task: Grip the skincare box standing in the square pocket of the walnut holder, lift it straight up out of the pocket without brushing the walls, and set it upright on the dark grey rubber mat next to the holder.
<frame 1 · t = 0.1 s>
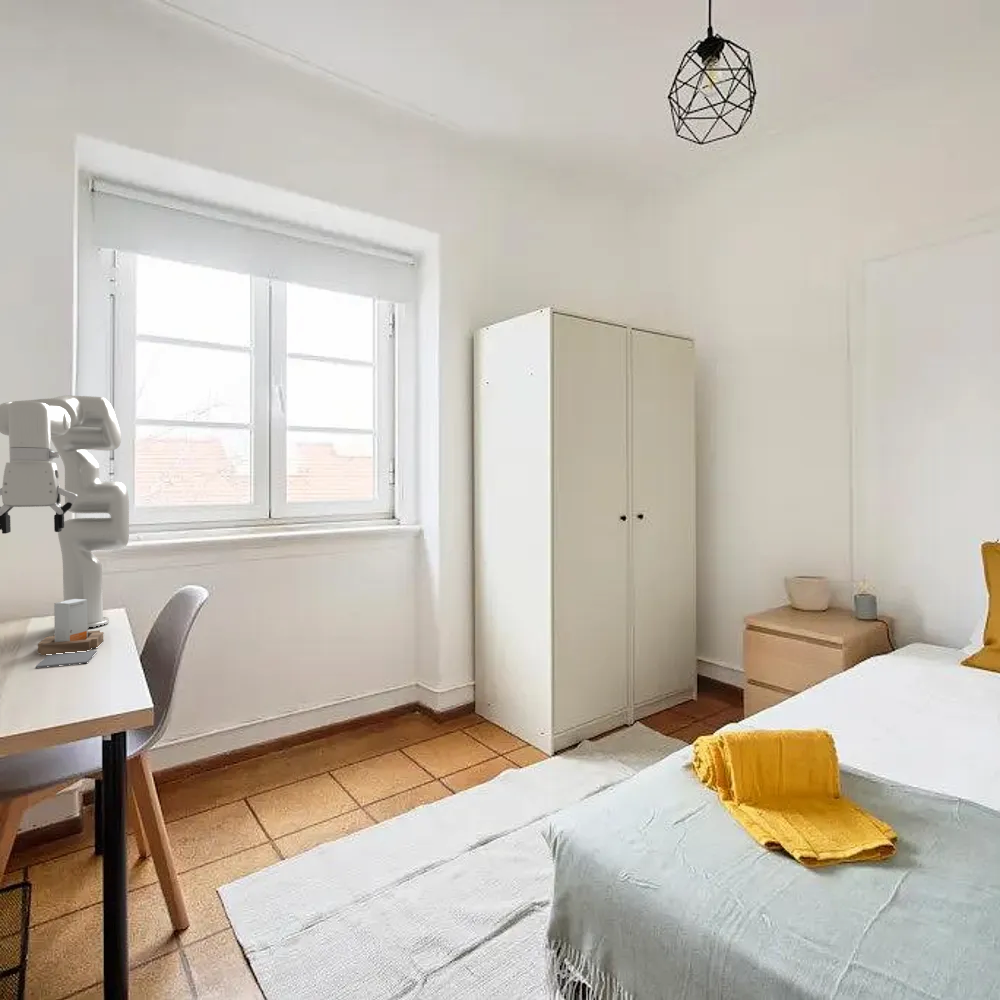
hand: (32, 532, 140), 31 cm above the table, tool pointing down, fingers open, 9 cm apart
skincare box: (72, 648, 159), resting in walnut holder
walnut holder: (71, 647, 159), on the table
grey rubber mat: (67, 660, 147), on the table
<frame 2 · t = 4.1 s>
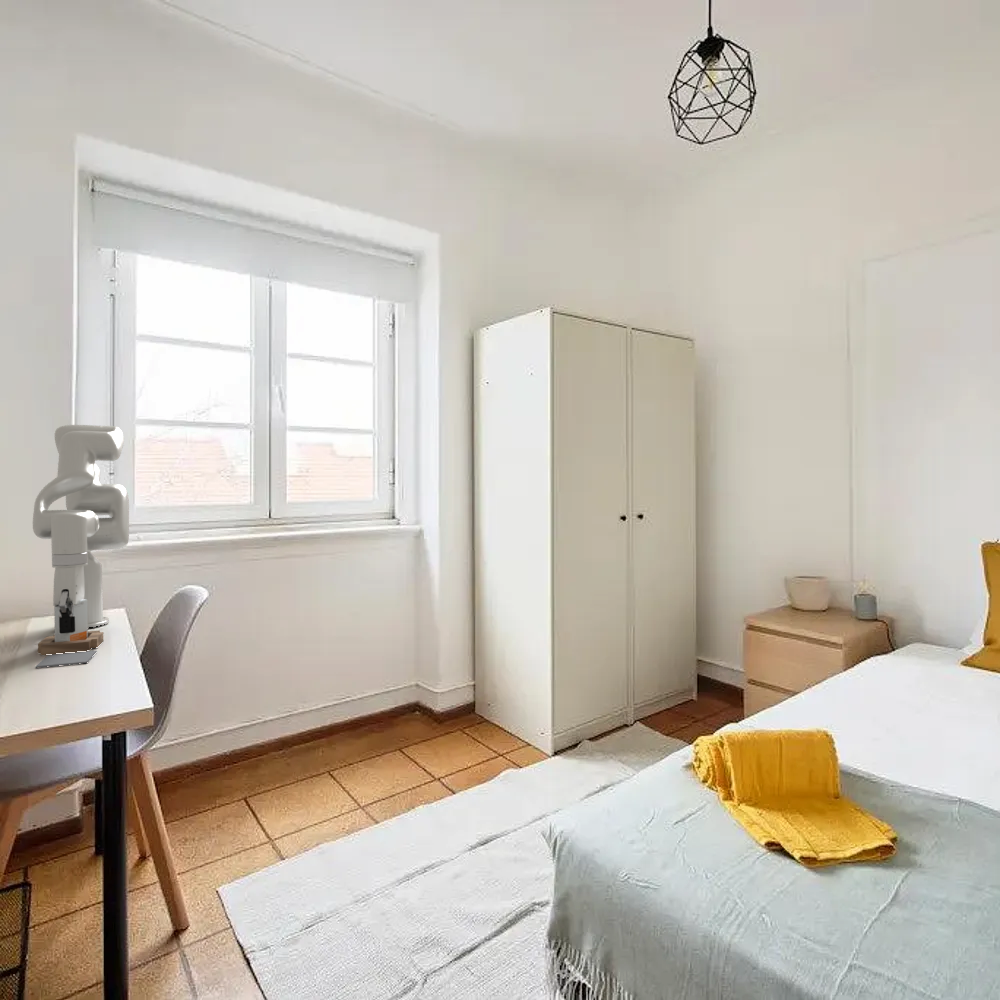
hand: (71, 628, 159), 5 cm above the table, tool pointing down, fingers closed on skincare box, 7 cm apart
skincare box: (72, 648, 159), resting in walnut holder, touching gripper
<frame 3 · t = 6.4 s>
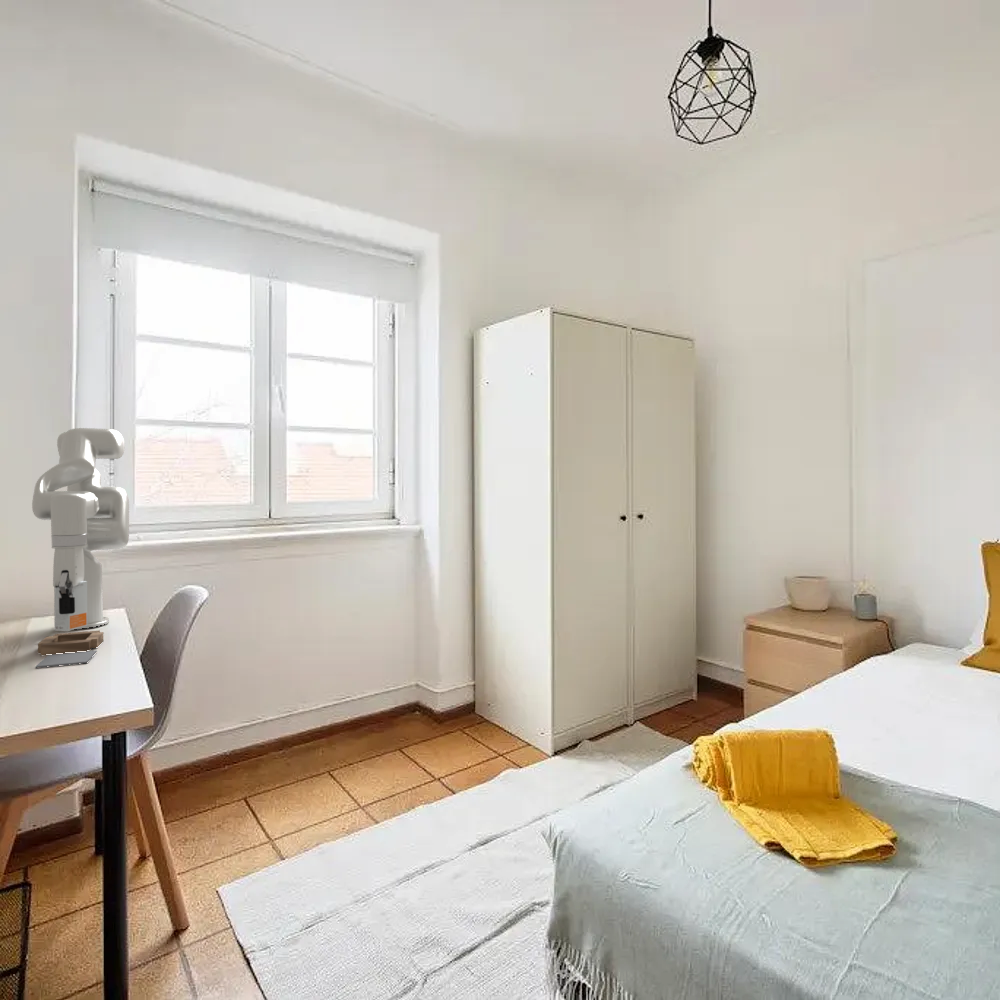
hand: (71, 609, 159), 10 cm above the table, tool pointing down, fingers closed on skincare box, 7 cm apart
skincare box: (71, 629, 159), point 5 cm above the table, touching gripper
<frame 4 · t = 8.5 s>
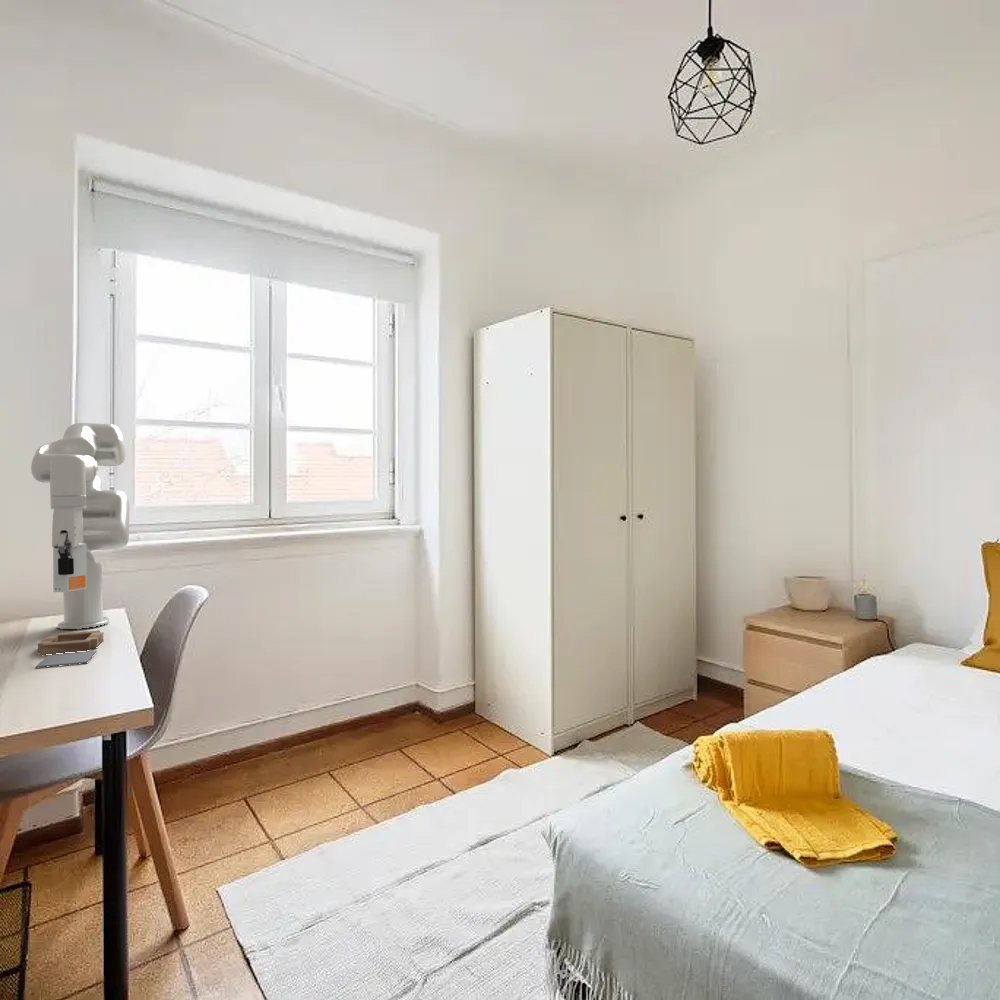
hand: (70, 571, 158), 19 cm above the table, tool pointing down, fingers closed on skincare box, 7 cm apart
skincare box: (70, 591, 158), point 14 cm above the table, touching gripper
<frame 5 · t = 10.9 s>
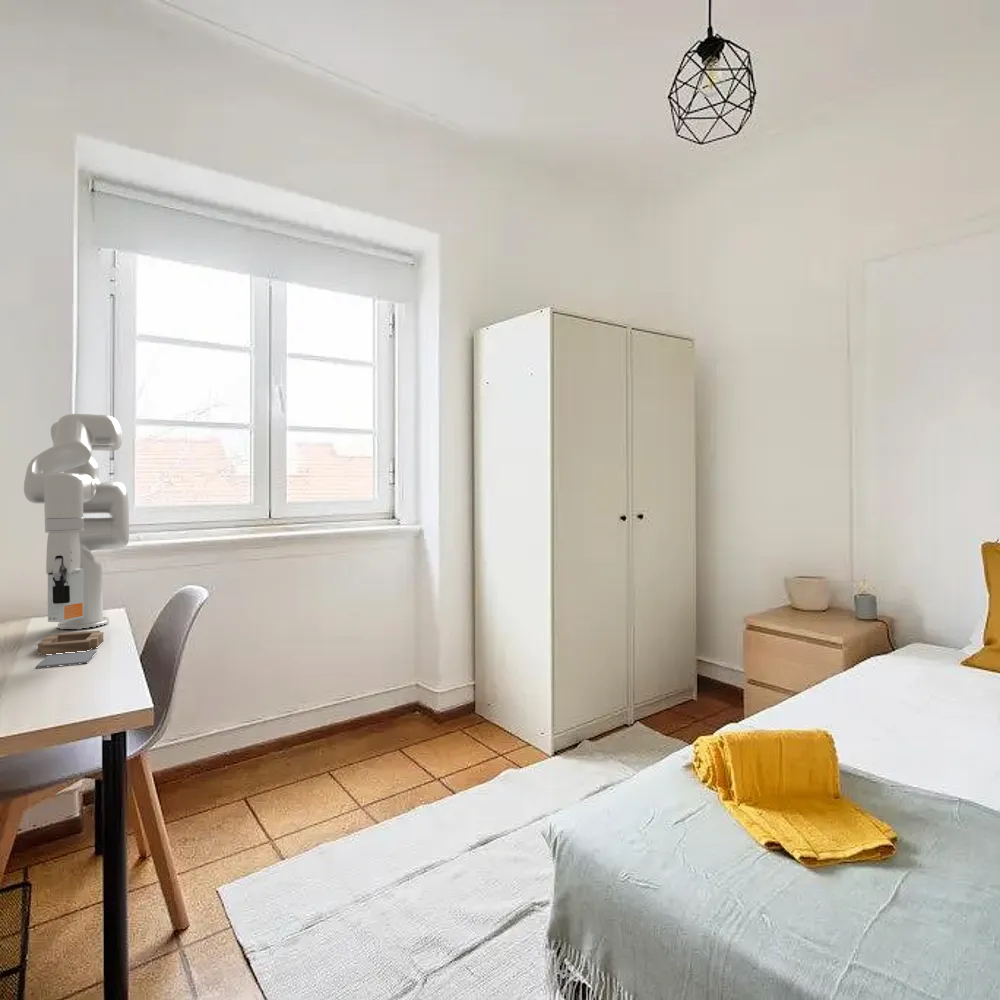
hand: (66, 599, 147), 15 cm above the table, tool pointing down, fingers closed on skincare box, 7 cm apart
skincare box: (66, 620, 147), point 9 cm above the table, touching gripper
when the fingers open (7 cm above the table, at t = 13.2 s): skincare box drops 1 cm, resting on grey rubber mat.
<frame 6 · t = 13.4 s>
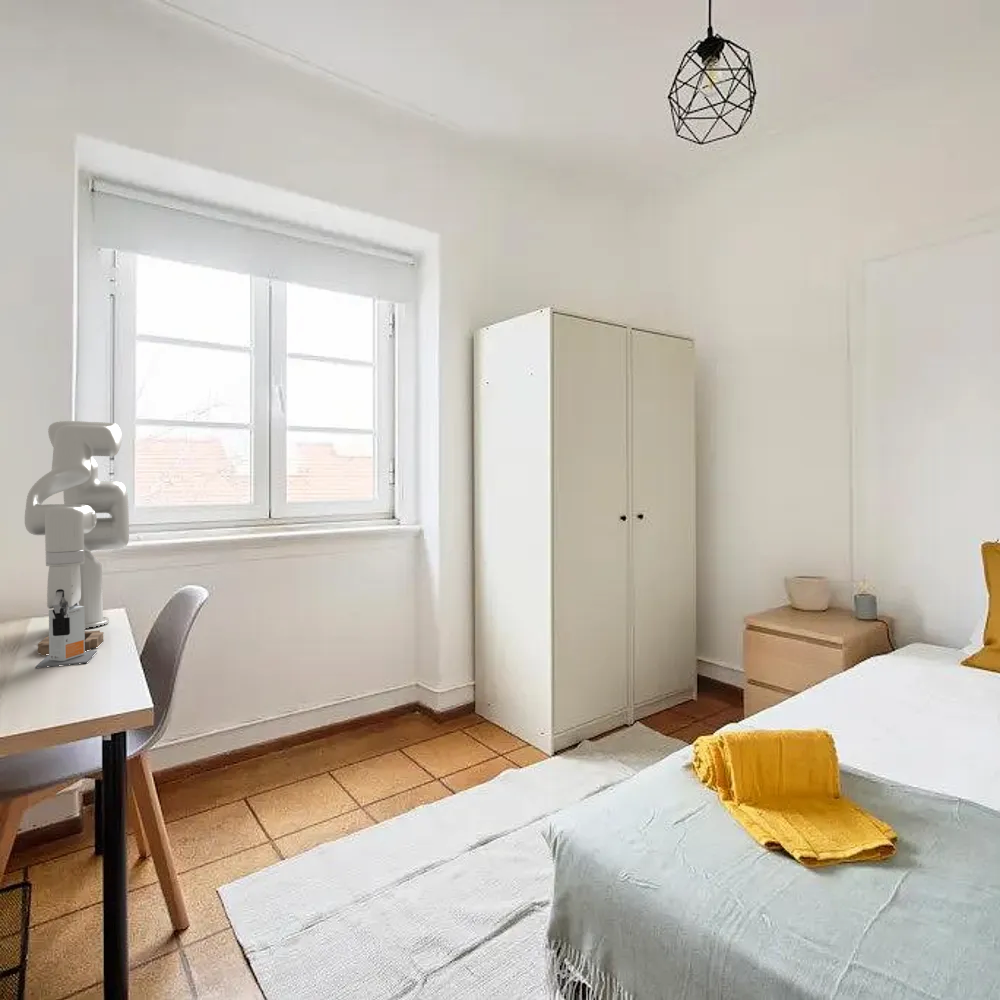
hand: (66, 630, 147), 7 cm above the table, tool pointing down, fingers open, 8 cm apart
skincare box: (67, 658, 148), resting on grey rubber mat
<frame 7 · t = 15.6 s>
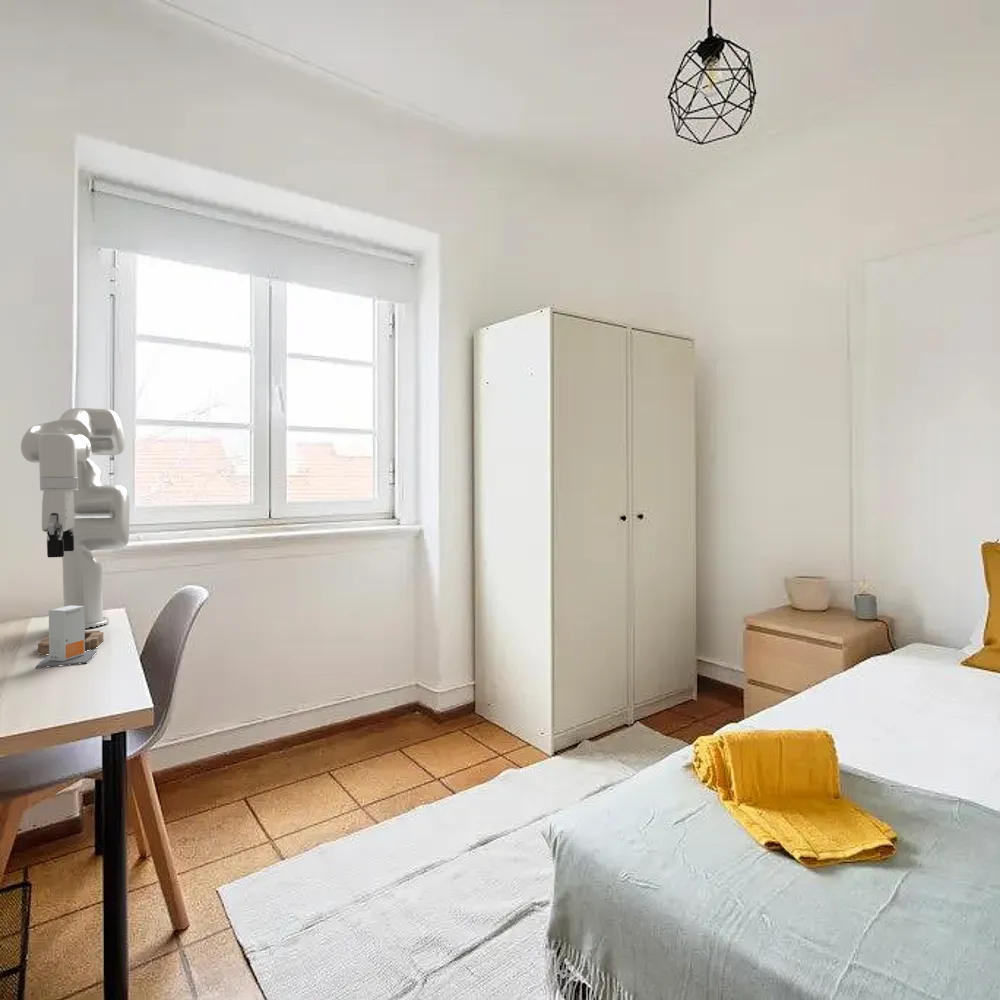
hand: (61, 553, 152), 25 cm above the table, tool pointing down, fingers open, 9 cm apart
nothing on the table moved.
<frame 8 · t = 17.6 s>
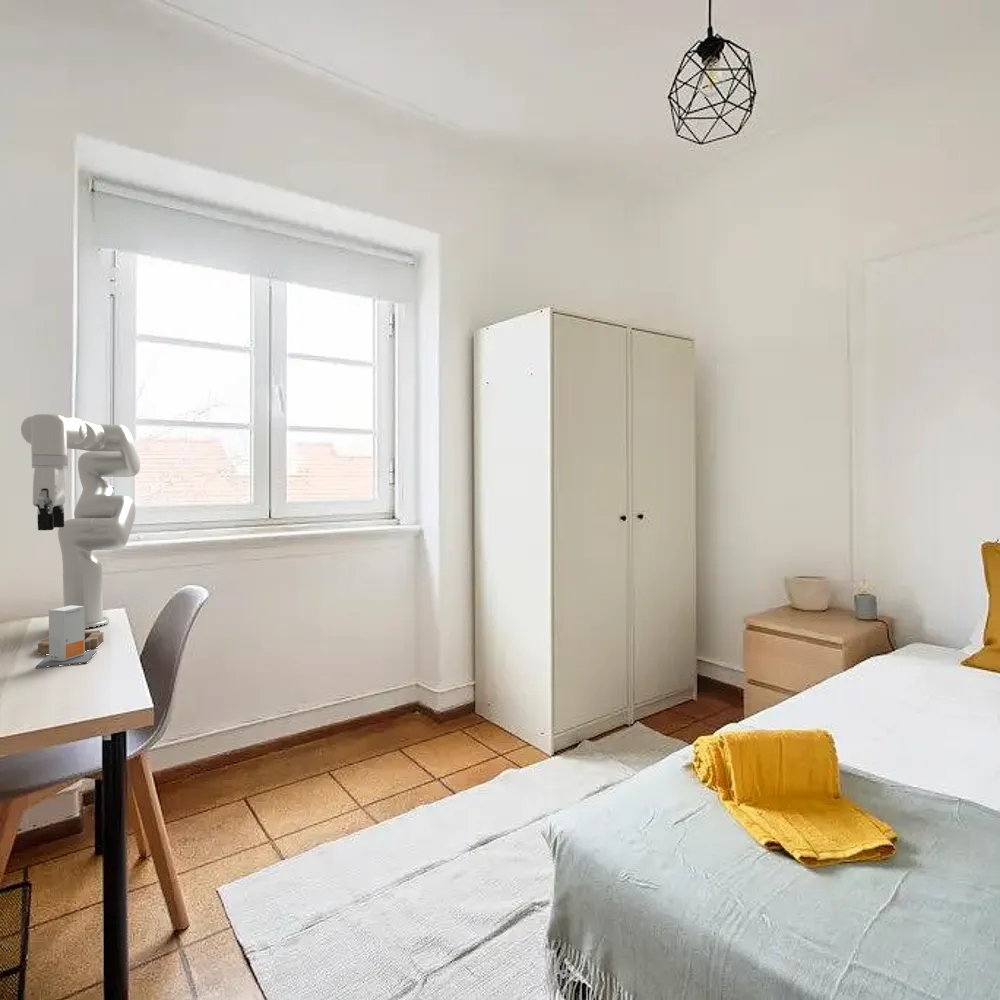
hand: (51, 528, 160), 30 cm above the table, tool pointing down, fingers open, 9 cm apart
nothing on the table moved.
at the end: skincare box 0.4 cm off-centre on the grey rubber mat, point 0.3 cm above the grey rubber mat's base; skincare box tilted 0°; the gripper is holding nothing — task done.
